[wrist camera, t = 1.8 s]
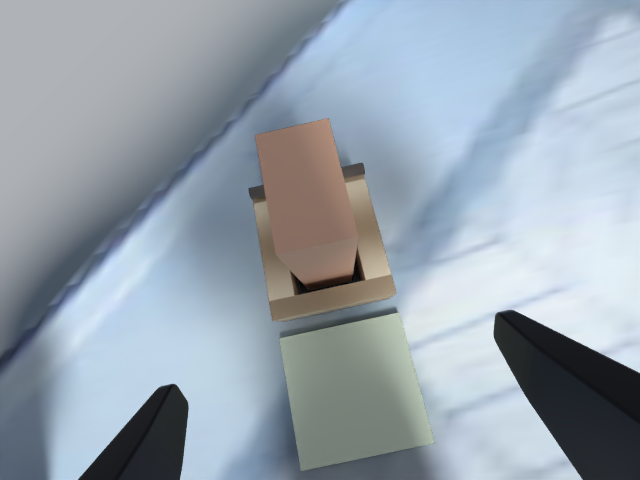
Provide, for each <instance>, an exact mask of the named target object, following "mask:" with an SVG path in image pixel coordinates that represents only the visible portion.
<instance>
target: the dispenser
mask: <svg viewBox="0 0 640 480" xmlns="http://www.w3.org/2000/svg"><path fill="white" fill-rule="evenodd" d="M341 169H342V173H343V177H344V181H345V185H346V189H347V193H348V197H349V201H350V204H351V208H352V212H353V216H354V220H355V224H356V228H357V232H358V236H359V237H358V244H357V250H356V257H355V259H356V263H357V267H358V271H359V275H360V279H361V281H359V282H355V283H350V284H346V285H341V286H337V287H332V288H327V289H323V290H318V291H314V292H309V293H305V294H301V291H300V286H299V281H298V278H297V277H296V276H295V275H294V274H293V273H292V271H291V270H290V269H289V268H288V267H287V266H286V265H285V264H284V263H283V262H282V261H281V260H280V259H279V258H278V257H277V256H276V254H275V248H274V242H273V236H272V231H271V225H270V219H269V213H268V208H267V202H266V196H265V190H264V185H261V186H256V187H252V188H249V194H250V197H251V199H253V204H254V210H255V216H256V223H257V229H258V235H259V241H260V248H261V254H262V260H263V266H264V273H265V279H266V285H267V291H268V298H269V304H270V310H271V316H272V321H282V322H285V321H289V320H294V319H298V318H303V317H307V316H312V315H317V314H321V313H326V312H330V311H335V310H340V309H344V308H349V307H353V306H358V305H362V304H367V303H372V302H376V301H381V300H385V299H389V298H390V297H392V296H393V295H395V294H396V289H395V286H394V282H393V278H392V275H391V271H390V268H389V264H388V260H387V257H386V253H385V249H384V246H383V242H382V238H381V235H380V231H379V227H378V224H377V220H376V217H375V213H374V209H373V206H372V202H371V198H370V195H369V191H368V187H367V184H366V180H365V177H364V174H365V170H364V165H363V163H358V164H354V165H349V166H345V167H341Z"/></svg>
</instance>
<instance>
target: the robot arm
mask: <svg viewBox="0 0 640 480" xmlns="http://www.w3.org/2000/svg"><path fill="white" fill-rule="evenodd" d="M494 339H495V342H496V344H497V345H498V347H499V349H500V351H501V353H502V354H503V356H504V358H505V360H506V362H507V364H508V365H509V367H510V369H511V371H512V373H513V375H514V376H515V378H516V380H517V382H518V384H519V385H520V387H521V389H522V391H523V392H524V394H525V396H526V397H527V399H528V400H529V402H530V403H531V405H532V406H533V408H534V409H535V411H536V412H537V414H538V415H539V417H540V418H541V420H542V421H543V422H544V424H545V425H546V427H547V428H548V430H549V431H550V433H551V434H552V436H553V437H554V438H555V440H556V441H557V443H558V444H559V446H560V447H561V449H562V450H563V452H564V453H565V455H566V456H567V457H568V459H569V460H570V462H571V463H572V465H573V466H574V468H575V469H576V471H577V472H578V473H579V475H580V476H581V478H582V479H583V480H640V373H639V372H637V371H635V370H633V369H631V368H629V367H627V366H625V365H623V364H621V363H619V362H617V361H615V360H613V359H611V358H609V357H607V356H605V355H603V354H601V353H599V352H597V351H595V350H592V349H590V348H588V347H586V346H584V345H582V344H580V343H578V342H576V341H574V340H572V339H570V338H568V337H566V336H564V335H562V334H560V333H558V332H556V331H554V330H552V329H550V328H548V327H546V326H544V325H542V324H540V323H538V322H536V321H534V320H532V319H530V318H528V317H526V316H524V315H522V314H520V313H518V312H516V311H514V310H506V311H502V312H498V313H497V314H496V315H495V323H494ZM188 409H189V408H188V402H187V400H186V398H185V397H184V395H183V394H182V392H181V391H180V389H179V388H178V386H177V385H175V384H169V385H164V386H161V387H159V388H158V389H157V390H156V391H155V392H154V393H153V394H152V395H151V397H150V398H149V399H148V400H147V401H146V402H145V403H144V405H143V406H142V407H141V408H140V409H139V410H138V412H137V413H136V414H135V415H134V416H133V417H132V418H131V420H130V421H129V422H128V423H127V424H126V425H125V426H124V428H123V429H122V430H121V431H120V432H119V433H118V434H117V436H116V437H115V438H114V439H113V440H112V441H111V442H110V444H109V445H108V446H107V447H106V448H105V449H104V450H103V452H102V453H101V454H100V455H99V456H98V457H97V458H96V460H95V461H94V462H93V463H92V464H91V465H90V467H89V468H88V469H87V470H86V471H85V472H84V473H83V475H82V476H81V477H80V478H79V479H78V480H180V476H181V470H182V464H183V456H184V446H185V437H186V428H187V419H188Z"/></svg>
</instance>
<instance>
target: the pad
mask: <svg viewBox="0 0 640 480" xmlns="http://www.w3.org/2000/svg"><path fill="white" fill-rule="evenodd" d="M279 341H280V347H281V353H282V359H283V365H284V371H285V378H286V384H287V390H288V396H289V402H290V408H291V414H292V420H293V426H294V433H295V439H296V445H297V451H298V457H299V463H300V469H301V471H305V470H310V469H314V468H319V467H324V466H329V465H333V464H338V463H343V462H348V461H352V460H357V459H362V458H367V457H372V456H376V455H381V454H386V453H391V452H395V451H400V450H405V449H410V448H415V447H419V446H424V445H429V444H434V443H435V442H434V438H433V435H432V431H431V427H430V424H429V420H428V416H427V412H426V409H425V405H424V401H423V398H422V394H421V390H420V387H419V383H418V379H417V376H416V372H415V368H414V365H413V361H412V357H411V354H410V350H409V346H408V343H407V339H406V335H405V332H404V328H403V324H402V321H401V317H400V313H399V312H398V313H394V314H389V315H385V316H380V317H375V318H371V319H366V320H362V321H357V322H352V323H348V324H343V325H339V326H334V327H329V328H325V329H320V330H316V331H311V332H306V333H302V334H297V335H293V336H288V337H283V338H279Z"/></svg>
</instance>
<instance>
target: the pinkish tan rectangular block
mask: <svg viewBox="0 0 640 480" xmlns="http://www.w3.org/2000/svg"><path fill="white" fill-rule="evenodd" d="M255 138H256V144H257V150H258V156H259V161H260V167H261V173H262V179H263V185H264V190H265V196H266V202H267V208H268V213H269V219H270V225H271V231H272V236H273V242H274V248H275V254H276V256H277V257H278V258H279V259H280V260H281V261H282V262H283V263H284V264H285V265H286V266H287V267H288V268H289V269H290V270H291V271H292V273H293V274H294V275H295V276H296V277H297V278H298V279H299V280H300V281H301V282H302V283H303V284H304V285H305V286H306V287H307V288H308V289H309V290H313V289H317V288H322V287H326V286H331V285H335V284H340V283H345V282H349V281H352V277H353V270H354V263H355V257H356V250H357V244H358V237H359V236H358V232H357V228H356V224H355V220H354V216H353V212H352V208H351V204H350V201H349V197H348V193H347V189H346V185H345V181H344V177H343V173H342V169H341V165H340V161H339V157H338V153H337V149H336V145H335V141H334V137H333V134H332V130H331V126H330V122H329V118H327V119H323V120H319V121H314V122H310V123H305V124H301V125H297V126H292V127H288V128H283V129H279V130H275V131H270V132H266V133H262V134H257V135H255Z"/></svg>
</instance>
